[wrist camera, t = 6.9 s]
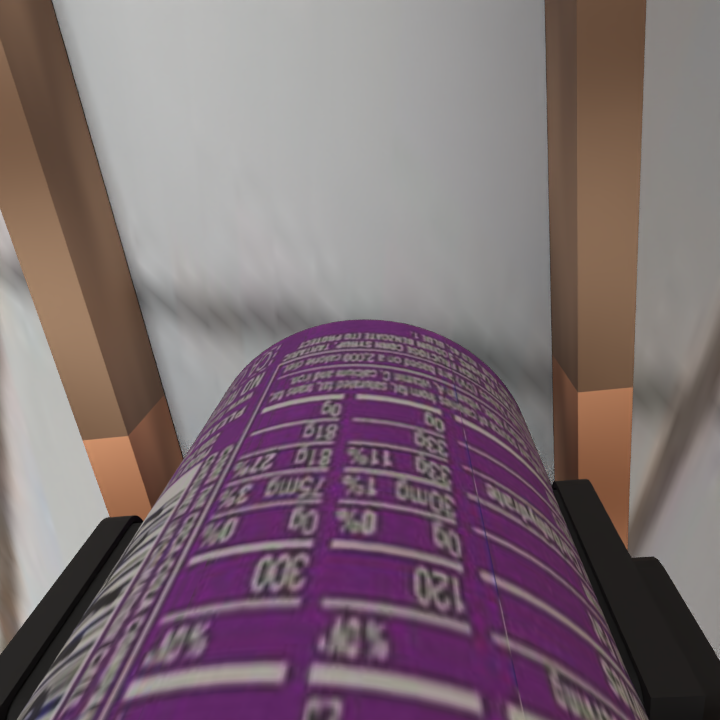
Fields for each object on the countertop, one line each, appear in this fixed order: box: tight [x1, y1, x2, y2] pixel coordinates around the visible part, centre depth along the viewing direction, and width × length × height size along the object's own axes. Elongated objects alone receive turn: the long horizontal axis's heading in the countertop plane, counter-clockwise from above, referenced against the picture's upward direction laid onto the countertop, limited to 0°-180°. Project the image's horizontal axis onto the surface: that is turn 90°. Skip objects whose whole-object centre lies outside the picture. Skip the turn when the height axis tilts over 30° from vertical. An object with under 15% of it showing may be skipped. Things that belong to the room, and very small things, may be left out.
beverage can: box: [17, 319, 649, 720], centre depth 8 cm, size 7×7×12 cm
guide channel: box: [0, 0, 646, 549], centre depth 10 cm, size 22×11×5 cm, turn 8°
